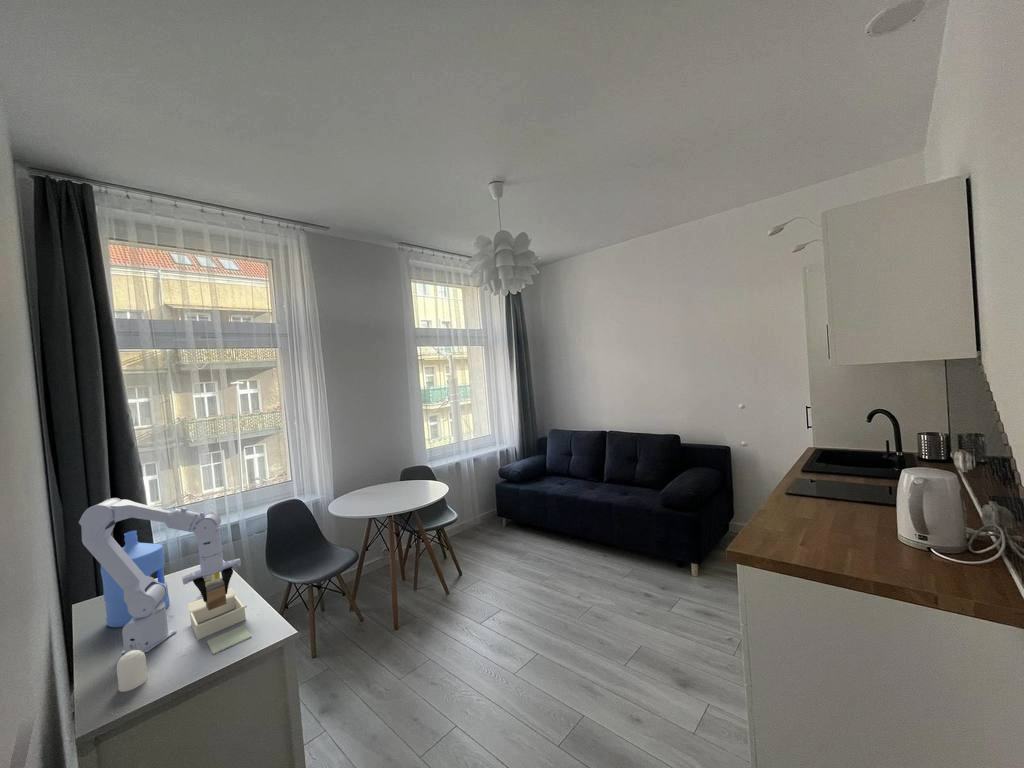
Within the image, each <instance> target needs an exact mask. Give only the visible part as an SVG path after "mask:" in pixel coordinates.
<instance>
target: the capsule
mask: <svg viewBox="0 0 1024 768" xmlns="http://www.w3.org/2000/svg"><path fill="white" fill-rule="evenodd" d="M116 663H117V665H116V676H117V685H118V691H119V692H121V693H123V692H128V691H132V690H133V689H136V688H138V687H139V686H141V685H143V684H144V683H145V682H147V680H148V679H149V676H148V667H147V658H146V654H145V653H144V652H142V651H140V650H132V651H129V652H127V653H124V654H123V655H122V656H121V657H120V658H119V660H118V661H117V662H116Z"/></svg>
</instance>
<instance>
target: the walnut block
mask: <svg viewBox="0 0 1024 768" xmlns="http://www.w3.org/2000/svg"><path fill="white" fill-rule="evenodd" d="M205 589H206V595H207V602H206V607H207V608H208V610H212V609H214V608H217V607H220V606H222V605H225V604H227V603H226V594H225V584H224V581H223V579H222V577H220V578H219V579H216V580H213V581H210V582H207V583H205Z"/></svg>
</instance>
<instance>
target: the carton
mask: <svg viewBox="0 0 1024 768" xmlns="http://www.w3.org/2000/svg"><path fill="white" fill-rule="evenodd" d="M226 603H227V604H225V605H222V606H220V607H217V608H214V609H212V610H208V608H207V607H206V602H204V601H203V597H202V598H200V599H197V600H195V601H192V602H189V603H187V608H188V611H189V617H190V626H191V628H192V631H193V632H194V635H195V636H196V639H197V641H199V640H200V639H203V638H205V637H209V636H210V635H213V634H215V633H217V632H220V631H222V630H224V629H226V628H227V629H228V628H229V627H231V626H233V625H236V624H238V623H241V622H244V621H245V620H246V619H247V617H246V610H245V608H247V607H248V605H244V604H243V603H242V602H241V601H240V599H239V598H238V597H237V595H236V593H235V591H234V587H230V588H229V587H228V591H227V594H226ZM226 612H227V613H226Z"/></svg>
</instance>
